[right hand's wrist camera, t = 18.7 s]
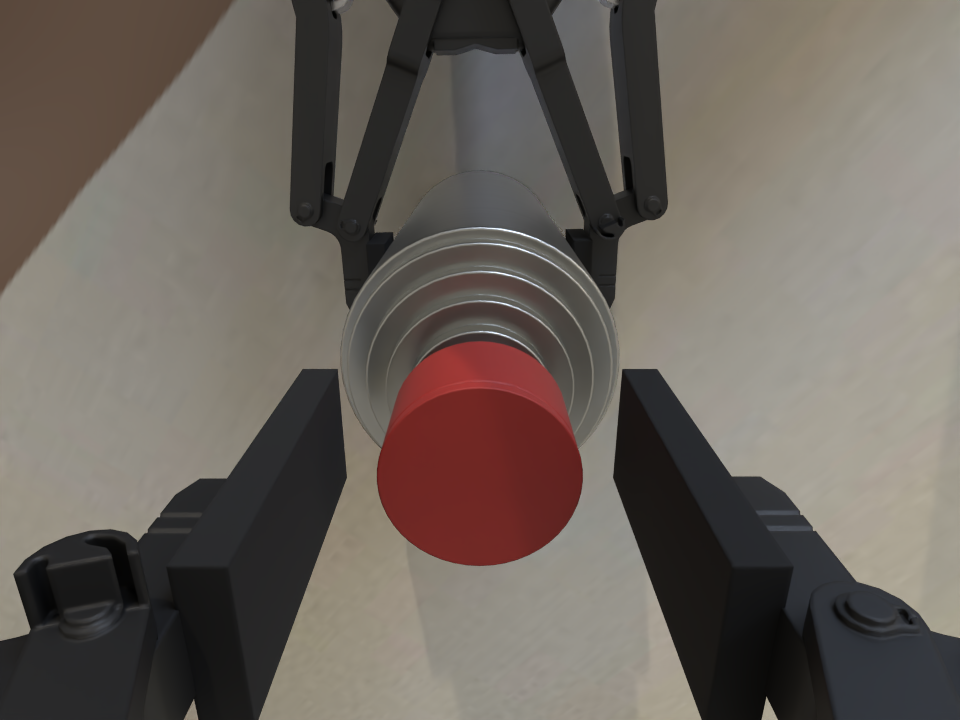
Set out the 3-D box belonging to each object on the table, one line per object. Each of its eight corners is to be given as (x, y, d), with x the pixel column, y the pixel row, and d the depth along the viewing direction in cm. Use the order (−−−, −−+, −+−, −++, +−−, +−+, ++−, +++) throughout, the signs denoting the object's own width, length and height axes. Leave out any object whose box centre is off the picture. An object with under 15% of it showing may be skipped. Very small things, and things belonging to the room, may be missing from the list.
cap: (358, 420, 15) (333, 481, 12) (480, 303, 14) (480, 344, 11) (480, 523, 16) (480, 599, 13) (601, 421, 15) (625, 482, 12)
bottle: (534, 152, 32) (639, 227, 11) (566, 297, 35) (701, 580, 14) (387, 193, 33) (221, 336, 12) (430, 331, 35) (357, 651, 14)
